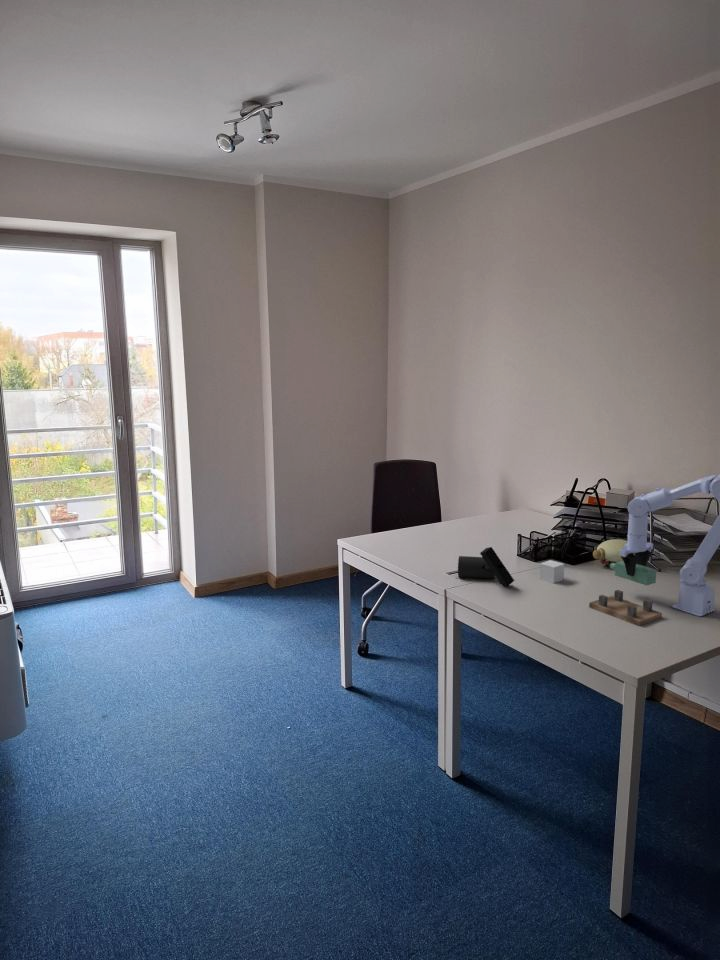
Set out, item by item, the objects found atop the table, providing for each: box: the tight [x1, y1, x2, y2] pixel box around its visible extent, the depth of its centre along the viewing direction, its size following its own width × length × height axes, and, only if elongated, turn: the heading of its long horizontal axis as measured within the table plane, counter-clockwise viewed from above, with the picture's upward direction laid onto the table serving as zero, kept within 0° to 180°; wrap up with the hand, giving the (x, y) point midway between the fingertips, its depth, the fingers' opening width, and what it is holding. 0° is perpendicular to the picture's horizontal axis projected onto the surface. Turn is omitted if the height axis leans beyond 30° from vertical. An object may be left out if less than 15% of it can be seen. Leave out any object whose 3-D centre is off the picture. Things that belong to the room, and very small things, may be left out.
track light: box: [457, 546, 515, 587], centre depth 235 cm, size 15×14×20 cm
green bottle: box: [609, 561, 657, 586], centre depth 214 cm, size 15×4×4 cm, turn 32°
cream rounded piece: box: [592, 538, 635, 566], centre depth 248 cm, size 9×16×18 cm
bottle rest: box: [588, 589, 663, 627], centre depth 203 cm, size 18×11×4 cm, turn 32°
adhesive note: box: [539, 559, 565, 584], centre depth 234 cm, size 6×6×6 cm
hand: (635, 573), depth 213 cm, fingers closed on green bottle, 4 cm apart
